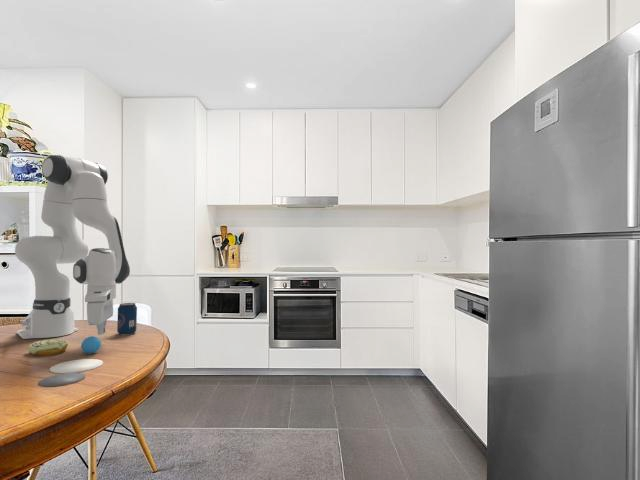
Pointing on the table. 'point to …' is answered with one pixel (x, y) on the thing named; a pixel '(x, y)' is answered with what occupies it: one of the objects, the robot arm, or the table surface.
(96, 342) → the ball
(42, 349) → the decorated donut
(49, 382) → the disc
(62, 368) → the disc
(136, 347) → the table surface
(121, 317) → the soda can
